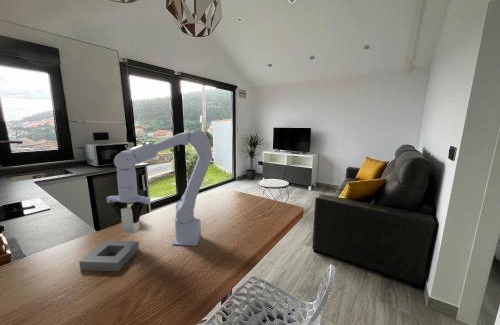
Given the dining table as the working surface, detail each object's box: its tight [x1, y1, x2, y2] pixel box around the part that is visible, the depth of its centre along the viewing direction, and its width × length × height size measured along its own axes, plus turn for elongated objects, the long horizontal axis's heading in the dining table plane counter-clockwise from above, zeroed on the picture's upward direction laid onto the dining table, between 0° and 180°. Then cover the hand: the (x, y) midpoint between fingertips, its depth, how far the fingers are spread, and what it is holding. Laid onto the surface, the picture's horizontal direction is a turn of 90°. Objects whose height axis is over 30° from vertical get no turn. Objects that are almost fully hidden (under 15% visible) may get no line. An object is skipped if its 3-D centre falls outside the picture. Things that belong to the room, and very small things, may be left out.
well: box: [78, 239, 140, 272], centre depth 72 cm, size 12×12×3 cm
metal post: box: [121, 204, 141, 234], centre depth 76 cm, size 4×4×9 cm
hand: (130, 221), depth 76 cm, fingers closed on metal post, 4 cm apart
